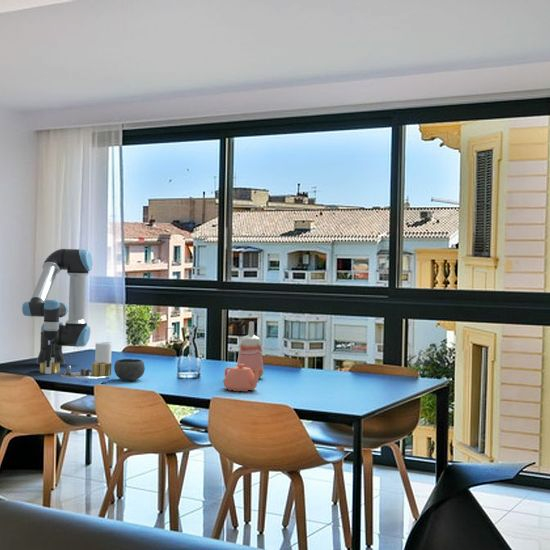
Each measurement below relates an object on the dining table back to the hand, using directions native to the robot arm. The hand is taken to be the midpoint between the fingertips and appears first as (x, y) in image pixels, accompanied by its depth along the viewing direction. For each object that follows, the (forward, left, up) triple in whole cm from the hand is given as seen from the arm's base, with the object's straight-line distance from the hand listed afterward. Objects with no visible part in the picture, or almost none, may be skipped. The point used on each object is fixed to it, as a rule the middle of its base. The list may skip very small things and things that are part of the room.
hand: (49, 371), depth 399 cm
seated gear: (+9, +26, 0) cm, 28 cm away
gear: (0, 0, -2) cm, 2 cm away
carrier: (+9, +18, -2) cm, 20 cm away
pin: (+9, +10, 0) cm, 13 cm away
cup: (-8, +26, -2) cm, 27 cm away
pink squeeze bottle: (+4, +102, -2) cm, 102 cm away
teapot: (+43, +93, -2) cm, 102 cm away
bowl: (+15, +40, -2) cm, 43 cm away
